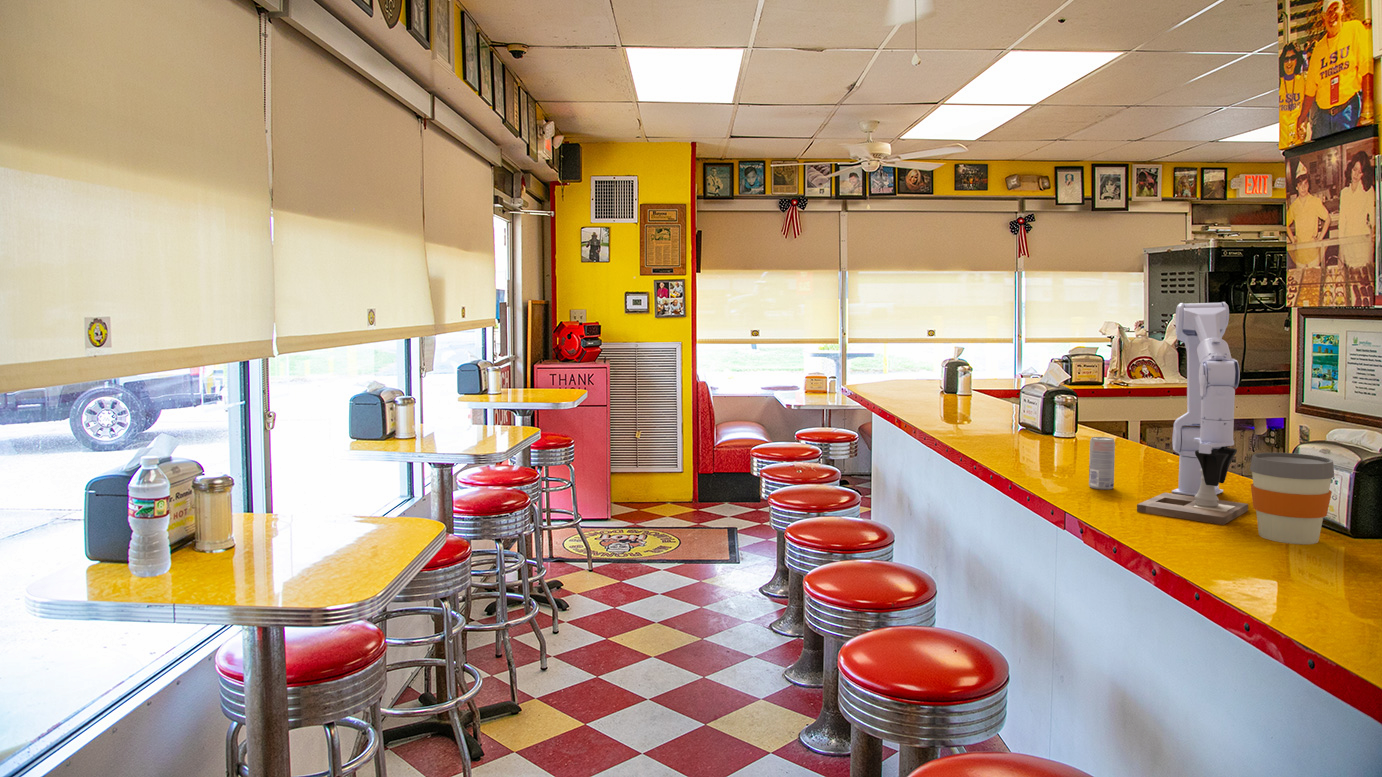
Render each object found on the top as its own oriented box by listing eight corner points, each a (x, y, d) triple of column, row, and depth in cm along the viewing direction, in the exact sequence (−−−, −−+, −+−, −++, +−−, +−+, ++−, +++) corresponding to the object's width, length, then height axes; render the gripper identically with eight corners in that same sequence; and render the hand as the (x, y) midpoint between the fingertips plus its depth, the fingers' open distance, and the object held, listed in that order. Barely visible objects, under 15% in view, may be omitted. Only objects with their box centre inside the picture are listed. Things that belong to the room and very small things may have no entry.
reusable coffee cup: (1255, 525, 159) (1258, 450, 158) (1336, 536, 150) (1340, 457, 149) (1240, 538, 150) (1243, 458, 149) (1325, 551, 141) (1329, 466, 140)
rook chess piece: (1214, 503, 170) (1217, 465, 170) (1221, 508, 166) (1225, 470, 165) (1190, 501, 172) (1193, 464, 171) (1197, 506, 167) (1200, 468, 166)
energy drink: (1108, 485, 198) (1109, 436, 197) (1117, 489, 193) (1118, 440, 192) (1085, 485, 198) (1086, 436, 197) (1094, 489, 193) (1095, 440, 192)
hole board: (1164, 499, 182) (1164, 491, 182) (1247, 510, 170) (1248, 502, 170) (1136, 511, 172) (1137, 503, 172) (1223, 524, 160) (1223, 516, 160)
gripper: (1206, 414, 174) (1204, 476, 175) (1183, 420, 165) (1180, 486, 166) (1245, 416, 169) (1242, 480, 170) (1222, 423, 159) (1220, 491, 160)
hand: (1214, 483), depth 167 cm, fingers closed on rook chess piece, 3 cm apart
